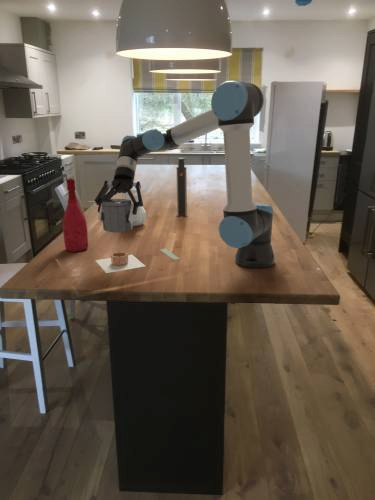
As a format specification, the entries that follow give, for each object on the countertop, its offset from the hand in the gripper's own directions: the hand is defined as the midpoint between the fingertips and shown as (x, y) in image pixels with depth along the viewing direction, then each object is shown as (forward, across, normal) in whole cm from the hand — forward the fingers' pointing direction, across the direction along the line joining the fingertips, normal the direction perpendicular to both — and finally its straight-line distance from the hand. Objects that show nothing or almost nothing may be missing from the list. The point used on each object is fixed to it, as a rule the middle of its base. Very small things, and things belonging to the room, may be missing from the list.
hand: (115, 221), depth 146 cm
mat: (+3, -12, -22) cm, 26 cm away
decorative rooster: (-28, +11, -54) cm, 62 cm away
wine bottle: (-1, +24, -27) cm, 36 cm away
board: (+11, 0, -15) cm, 18 cm away
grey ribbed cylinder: (0, 0, -5) cm, 5 cm away
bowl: (+10, 0, -14) cm, 17 cm away
